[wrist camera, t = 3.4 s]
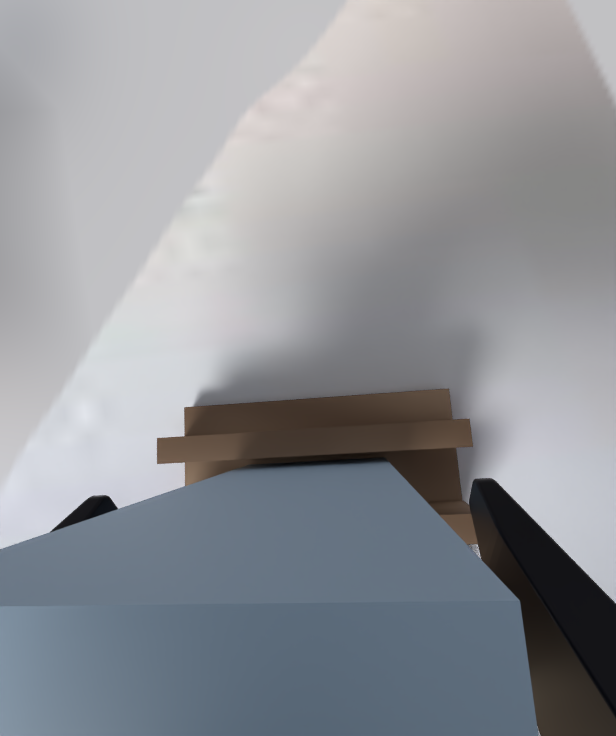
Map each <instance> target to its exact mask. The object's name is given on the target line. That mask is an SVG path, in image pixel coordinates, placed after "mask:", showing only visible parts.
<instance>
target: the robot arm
mask: <svg viewBox="0 0 616 736" xmlns="http://www.w3.org/2000/svg"><path fill="white" fill-rule="evenodd" d="M469 505H470V511H471V516H472V520H473V524H474V529H475V533H476V537H477V542H478V546H479V550H480V555H481V559H482V561H483V562H484V563H485V564H486V565H487V566H488V567H489V568H490V570H491V571H492V572H493V573H494V574H495V575H496V576H497V577H498V578H499V579H500V580H501V581H502V582H503V583H504V584H505V585H506V586H507V588H508V589H509V590H510V591H511V592H512V593H513V594H514V595H515V596H516V597H517V598H518V599H519V600H520V605H521V612H522V620H523V627H524V634H525V641H526V649H527V656H528V663H529V670H530V678H531V685H532V692H533V699H534V707H535V714H536V721H537V726H538V729H539V732H540V735H541V736H616V603H615V602H614V601H613V600H612V599H611V598H610V597H609V596H608V595H607V594H606V593H605V592H604V591H603V590H602V589H601V588H600V587H599V586H598V585H597V584H596V583H595V582H594V581H593V580H592V579H591V578H590V577H589V576H588V575H587V574H586V573H585V572H584V571H583V570H582V569H581V568H580V567H579V566H578V565H577V564H576V562H575V561H574V560H573V559H572V558H571V557H570V556H569V555H568V554H567V553H566V552H565V551H564V550H563V549H562V548H561V547H560V546H559V545H558V544H557V543H556V542H555V541H554V540H553V539H552V538H551V537H550V536H549V535H548V534H547V533H546V532H545V531H544V530H543V529H542V528H541V527H540V526H539V525H538V524H537V523H536V522H535V521H534V520H533V519H532V518H531V517H530V516H529V515H528V513H527V512H526V511H525V510H524V509H523V508H522V507H521V506H520V505H519V504H518V503H517V502H516V501H515V500H514V499H513V498H512V497H511V496H510V495H509V494H508V493H507V492H506V491H505V490H504V489H503V488H502V487H501V486H500V485H499V484H498V483H497V482H496V481H495V480H493V479H491V478H482V479H475V480H474V481H473V484H472V489H471V494H470V500H469ZM117 509H118V508H117V507H116V505H115V504H114V503H113V501H112V500H111V498H110V497H109V496H106V495H100V496H92V497H90V498H88V499H87V500H86V501H84V502H83V503H82V504H81V505H80V506H79V507H78V508H77V509H75V510H74V511H73V512H72V513H71V514H70V515H69V516H68V517H66V518H65V519H64V520H63V521H62V522H61V523H60V524H59V525H57V526H56V527H55V528H54V529H53V530H52V531H51V532H53V531H56V530H59V529H62V528H65V527H68V526H70V525H73V524H76V523H79V522H82V521H85V520H88V519H91V518H94V517H97V516H100V515H103V514H106V513H108V512H111V511H114V510H117Z"/></svg>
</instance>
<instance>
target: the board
mask: <svg viewBox="0 0 616 736" xmlns="http://www.w3.org/2000/svg"><path fill="white" fill-rule="evenodd" d="M0 736H538V728H537V721H536V714H535V707H534V699H533V692H532V685H531V678H530V670H529V663H528V656H527V649H526V641H525V634H524V627H523V620H522V612H521V605H520V600H519V599H518V598H517V597H516V596H515V595H514V594H513V593H512V592H511V591H510V590H509V589H508V588H507V586H506V585H505V584H504V583H503V582H502V581H501V580H500V579H499V578H498V577H497V576H496V575H495V574H494V573H493V572H492V571H491V570H490V568H489V567H488V566H487V565H486V564H485V563H484V562H483V561H482V560H481V559H480V558H479V557H478V556H477V555H476V554H475V553H474V552H473V550H472V549H471V548H470V547H469V546H468V545H467V544H466V543H465V542H464V541H463V540H462V539H461V538H460V537H459V536H458V535H457V533H456V532H455V531H454V530H453V529H452V528H451V527H450V526H449V525H448V524H447V523H446V522H445V521H444V520H443V519H442V518H441V517H440V515H439V514H438V513H437V512H436V511H435V510H434V509H433V508H432V507H431V506H430V505H429V504H428V503H427V502H426V501H425V500H424V499H423V497H422V496H421V495H420V494H419V493H418V492H417V491H416V490H415V489H414V488H413V487H412V486H411V485H410V484H409V483H408V482H407V480H406V479H405V478H404V477H403V476H402V475H401V474H400V473H399V472H398V471H397V470H396V469H395V468H394V467H393V466H392V465H391V464H390V462H389V461H388V460H387V459H386V458H385V457H381V458H362V459H343V460H324V461H306V462H287V463H268V464H249V465H246V466H243V467H240V468H237V469H234V470H231V471H228V472H226V473H223V474H220V475H217V476H214V477H211V478H208V479H205V480H202V481H199V482H196V483H193V484H190V485H187V486H185V487H182V488H179V489H176V490H173V491H170V492H167V493H164V494H161V495H158V496H155V497H152V498H149V499H147V500H144V501H141V502H138V503H135V504H132V505H129V506H126V507H123V508H120V509H117V510H114V511H111V512H108V513H106V514H103V515H100V516H97V517H94V518H91V519H88V520H85V521H82V522H79V523H76V524H73V525H70V526H68V527H65V528H62V529H59V530H56V531H53V532H50V533H47V534H44V535H41V536H38V537H35V538H32V539H29V540H27V541H24V542H21V543H18V544H15V545H12V546H9V547H6V548H3V549H0Z"/></svg>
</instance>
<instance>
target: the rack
mask: <svg viewBox="0 0 616 736" xmlns="http://www.w3.org/2000/svg"><path fill="white" fill-rule="evenodd" d="M184 419H185V436H184V437H168V438H157V464H164V463H182V462H185V486H187V485H190V484H193V483H196V482H199V481H202V480H205V479H208V478H211V477H214V476H217V475H220V474H223V473H226V472H228V471H231V470H234V469H237V468H240V467H243V466H246V465H249V464H268V463H287V462H306V461H324V460H343V459H362V458H381V457H385V458H386V459H387V460H388V461H389V462H390V464H391V465H392V466H393V467H394V468H395V469H396V470H397V471H398V472H399V473H400V474H401V475H402V476H403V477H404V478H405V479H406V480H407V482H408V483H409V484H410V485H411V486H412V487H413V488H414V489H415V490H416V491H417V492H418V493H419V494H420V495H421V496H422V497H423V499H424V500H425V501H426V502H427V503H428V504H429V505H430V506H431V507H432V508H433V509H434V510H435V511H436V512H437V513H438V514H439V515H440V517H441V518H442V519H443V520H444V521H445V522H446V523H447V524H448V525H449V526H450V527H451V528H452V529H453V530H454V531H455V532H456V533H457V535H458V536H459V537H460V538H461V539H462V540H463V541H464V542H465V543H466V544H467V545H468V544H478V542H477V537H476V533H475V529H474V524H473V520H472V516H471V511H470V505H468V504H467V503H466V502H464V501H463V500H462V494H461V485H460V477H459V469H458V460H457V452H456V448H457V447H473V443H472V435H471V427H470V419H455V420H453V419H452V411H451V402H450V394H449V389H436V390H422V391H408V392H394V393H380V394H366V395H352V396H338V397H324V398H310V399H296V400H282V401H268V402H254V403H240V404H226V405H212V406H198V407H184Z"/></svg>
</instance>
